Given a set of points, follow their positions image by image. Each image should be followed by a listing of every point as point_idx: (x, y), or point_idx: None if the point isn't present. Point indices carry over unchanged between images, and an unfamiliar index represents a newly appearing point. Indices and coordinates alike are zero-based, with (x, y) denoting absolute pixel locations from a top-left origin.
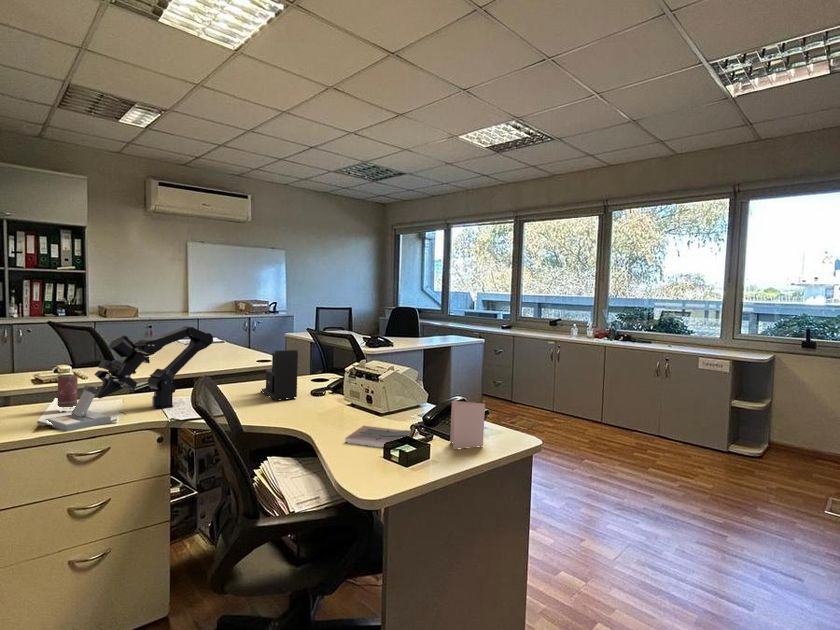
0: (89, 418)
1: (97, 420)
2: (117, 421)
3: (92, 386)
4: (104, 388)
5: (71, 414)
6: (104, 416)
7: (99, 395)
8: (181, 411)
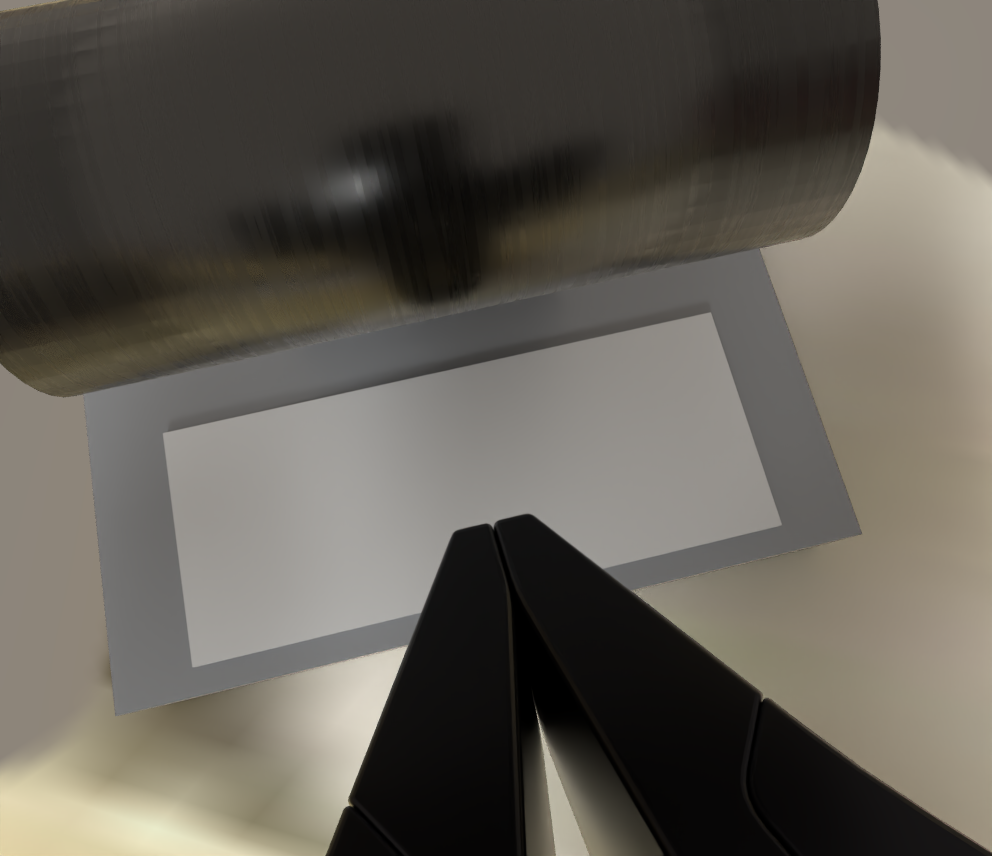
0: (272, 395)
1: (96, 476)
2: (148, 819)
3: (317, 65)
4: (453, 811)
5: (757, 251)
6: (187, 618)
7: (440, 563)
8: None
